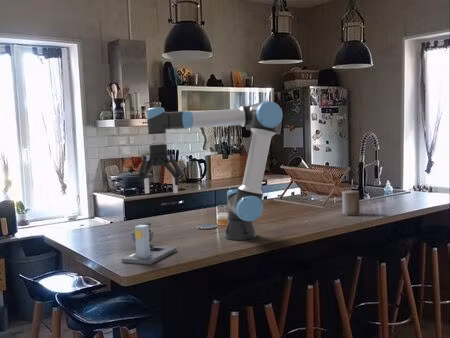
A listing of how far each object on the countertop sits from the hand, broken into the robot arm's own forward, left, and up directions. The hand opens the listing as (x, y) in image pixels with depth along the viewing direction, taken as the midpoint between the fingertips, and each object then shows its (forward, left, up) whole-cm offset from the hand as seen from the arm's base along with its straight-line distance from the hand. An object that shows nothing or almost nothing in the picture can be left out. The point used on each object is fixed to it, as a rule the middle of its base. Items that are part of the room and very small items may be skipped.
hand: (161, 193), depth 209 cm
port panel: (0, +11, -25) cm, 27 cm away
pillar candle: (-67, -104, -25) cm, 126 cm away
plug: (0, +17, -25) cm, 30 cm away
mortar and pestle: (+12, -4, -25) cm, 28 cm away
